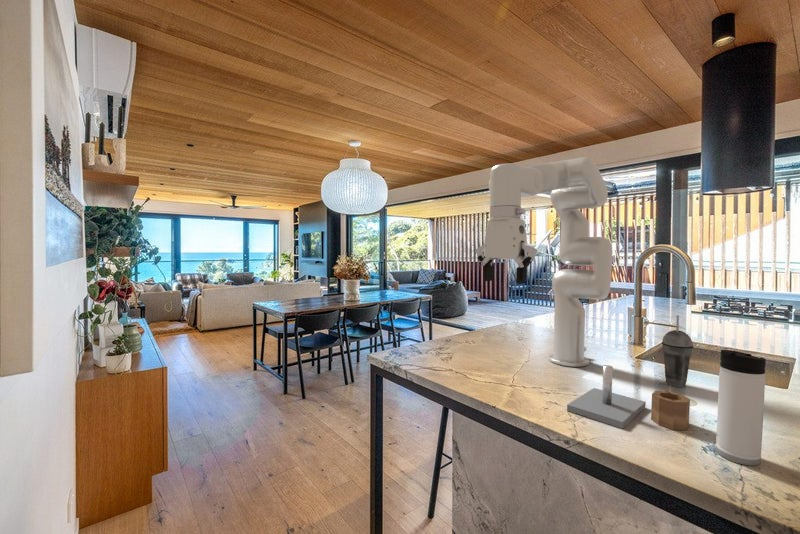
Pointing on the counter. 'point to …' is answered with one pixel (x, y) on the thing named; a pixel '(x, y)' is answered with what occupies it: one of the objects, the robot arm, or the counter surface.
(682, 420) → the walnut bead
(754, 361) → the travel mug
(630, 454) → the counter surface
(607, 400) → the metal rod
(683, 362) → the beverage cup
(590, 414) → the rod board
